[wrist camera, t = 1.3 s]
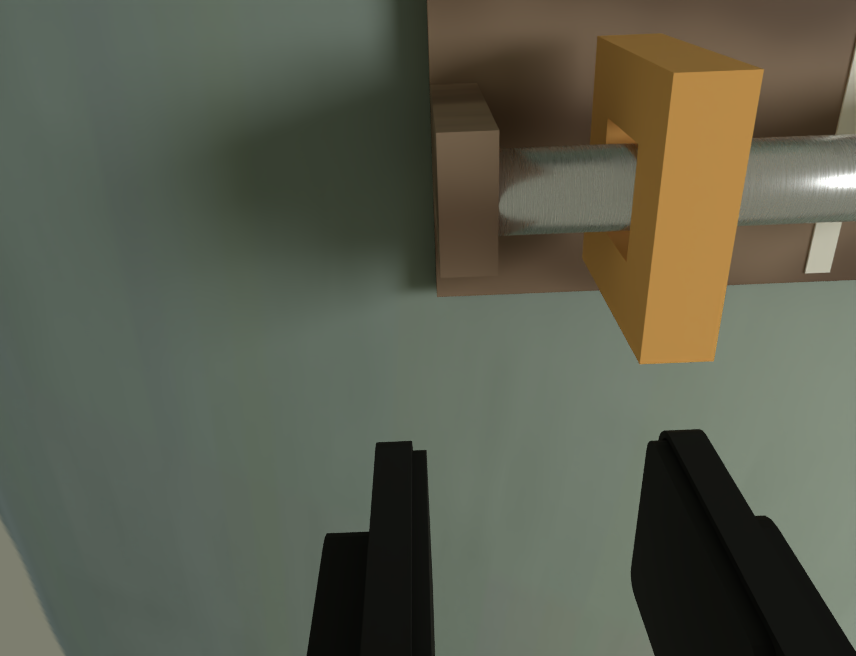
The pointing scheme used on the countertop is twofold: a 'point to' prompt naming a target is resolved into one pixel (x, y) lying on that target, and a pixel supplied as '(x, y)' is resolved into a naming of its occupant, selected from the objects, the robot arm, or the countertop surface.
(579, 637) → the countertop surface
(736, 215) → the collar
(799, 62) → the pipe stand
